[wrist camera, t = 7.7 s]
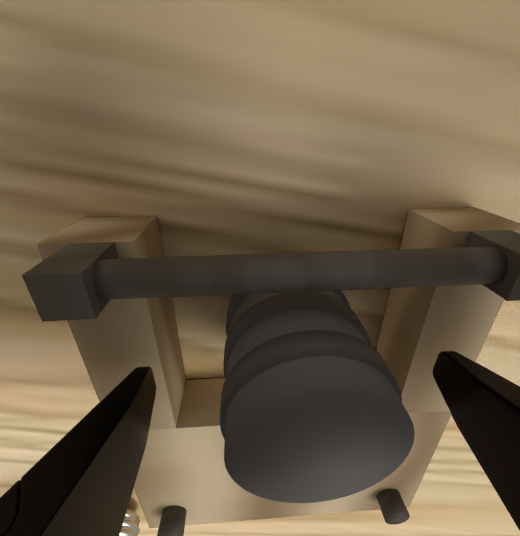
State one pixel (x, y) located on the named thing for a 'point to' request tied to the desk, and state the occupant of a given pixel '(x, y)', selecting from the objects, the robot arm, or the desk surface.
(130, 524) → the light bulb
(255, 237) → the desk surface
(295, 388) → the stacked grey discs
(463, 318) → the wooden handle frame
